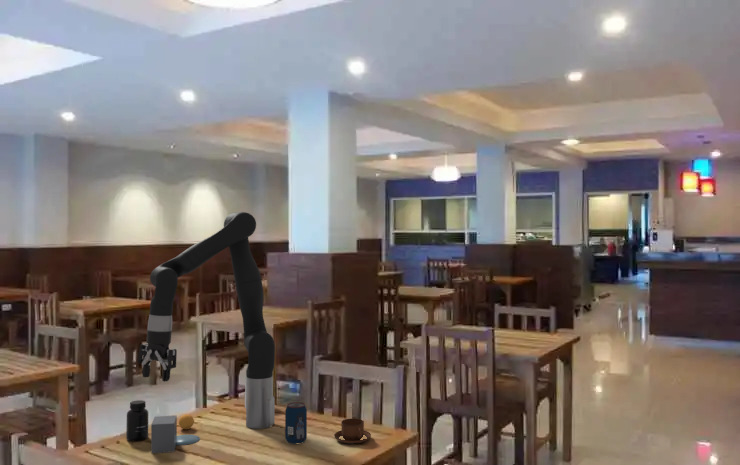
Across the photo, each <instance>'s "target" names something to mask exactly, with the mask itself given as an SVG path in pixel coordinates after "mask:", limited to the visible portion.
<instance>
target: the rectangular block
mask: <svg viewBox="0 0 740 465" xmlns="http://www.w3.org/2000/svg"><path fill="white" fill-rule="evenodd" d="M177 418H178V417H177V415H176V414H175V415H159V416H154V417H153V419H152V422H151V424H150V425H151V426H150V428H151V430H150V431H151V432H150V434H151V435H150V436H151V437H150V438H151V441H150V444H151V446H150V447H151V449H150V450H151V454H158V453H159V454H160V453H162V454H163V453H175V451H176V446H177V445H176V443H177V436H178V435H177V434H178V433H177V430H178V429H177V428H178V425H177V423H178V422H177V421H178V420H177Z"/></svg>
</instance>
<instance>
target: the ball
mask: <svg viewBox="0 0 740 465" xmlns="http://www.w3.org/2000/svg"><path fill="white" fill-rule="evenodd" d="M194 423H195V419H194V417H193V416H192V415H191V414H188V413H186V414H182V415H181V417H179V419H178V426H179V427H180V428H181V429H183V430H189V429H191V428H193V426H194Z"/></svg>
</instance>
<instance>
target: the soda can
mask: <svg viewBox="0 0 740 465" xmlns="http://www.w3.org/2000/svg"><path fill="white" fill-rule="evenodd" d="M307 410H308V409H307V407H306V404H305V403H304V402H299V401H297V402H295V401H294V402H289V403H287V406H286V408H285V412H284V413H285V414H284V415H285V418H284V419H285V420H284V424H285V427H284V429H285V430H284V434H285V436H284V438H285V440H286V442H287V444H290V443H292V444H291V445H297V444H296V443H301V444H303V443H305V442H306V439H307V436H308V435H307V434H308V432H307V431H308V426H307V425H308V420H307V419H308V418H307V416H308V414H307V413H308V411H307ZM302 442H303V443H302Z"/></svg>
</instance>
